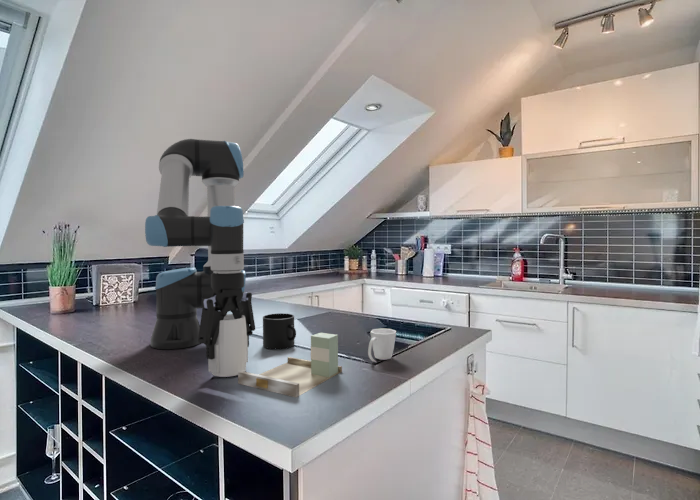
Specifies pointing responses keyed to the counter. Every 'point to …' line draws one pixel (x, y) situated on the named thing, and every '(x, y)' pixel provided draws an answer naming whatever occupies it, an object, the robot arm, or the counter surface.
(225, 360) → the cup
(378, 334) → the cup
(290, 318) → the mug
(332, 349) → the tea carton
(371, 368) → the counter surface
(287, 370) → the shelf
